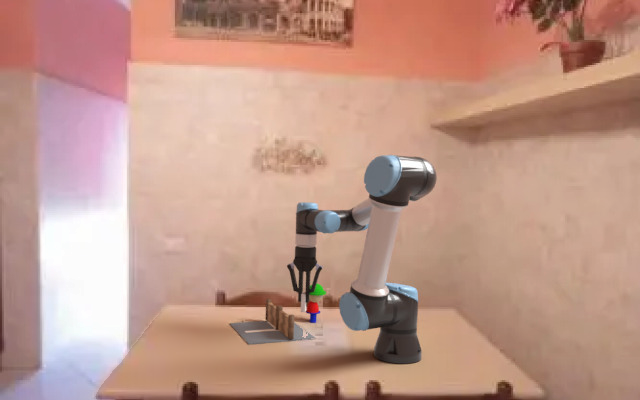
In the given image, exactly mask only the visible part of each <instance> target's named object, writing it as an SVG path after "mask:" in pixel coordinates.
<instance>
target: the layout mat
mask: <svg viewBox="0 0 640 400" xmlns="http://www.w3.org/2000/svg"><path fill="white" fill-rule="evenodd" d="M229 325H230V327H232V328H233V329H234V330H235V332H237V333H238V334H239V336H240V337H241V338H242V339H243V340H244V341H245V342H246V344H247V345H249V346H250V345H261V344H271V343H272V344H273V343H274V344H275V343H282V342H283V343H284V342H296V340H298V341H302V340H301V339H310V340H312V339H311V338H315V339H316V337H315V336H313V335H312V334H311V333H310V332H308V331H307V332H306V334H307V333H308V336H306V338H304V337H302V336H303V329H304V328H303V327H301V326H300V325H298V324H297V323H296V322H294V339H288V337H287V336H285V335H284V334H283V333H282V332H281V331H279V330H276V329H275V328H276V327H275V326H273V325H272V324H271V323H270V322H269V321H267V320H257V321H255V320H254V321H241V322H230V323H229ZM300 327H301V328H300ZM302 328H303V329H302Z"/></svg>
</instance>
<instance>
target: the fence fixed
mask: <svg viewBox="0 0 640 400" xmlns="http://www.w3.org/2000/svg"><path fill="white" fill-rule="evenodd" d="M280 310H282V311H284V309H283V305H275V304H274V303H273V302H272V299H271V298H266V299H265V321H269V322H270V323H271V324H272V325H273V326H275V327H276V328H275V329H276V330H278V327H279V311H280Z"/></svg>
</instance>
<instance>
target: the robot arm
mask: <svg viewBox="0 0 640 400" xmlns="http://www.w3.org/2000/svg"><path fill="white" fill-rule="evenodd" d="M437 180H438V179H437V172H436V169H435V167H434V166H433V164H432V163H431V162H430V161H429V160H427V159H425V158H423V157H420V156H406V155H395V154H394V155H393V154H387V155H378V156H376V157H374V159H371V160H370V162H369V164H368V165H367V167H366V169H365V172H364V176H363V183H364V184H365V185H364V189H365V190H366V192H367V193H368V194H369V196H368V198H367V199H365V200H363V201H362V202H360V203H359V204H357V205H355V206H353V207H352V208H350V209H319V207H318V206H319V205H318V203H316V202H311V201H310V202H309V201H308V202H306V201H305V202H304V201H303V202H302V201H300V202H298V203H297V204H296V212H295V241H294V244H295V246H294V258H293V260H292V261H291V263H288V264H287V265H286V268H287V269H288V271H289V275H290V280H291V285H292V286H291V287H292V290H293V292H296V293H297V295H298V296H297V297H298V298H297V301H298V303H300V312H301V313H306V311H307V304H309V302H310V300H309V295H310V293H313V292H314V291H315V288H316V284H318V280H319V276H320V273H321V271H322V270H323V268H324V266H323V265H320V264H319V263H318V260H317V247H316V246H317V239H318V238H317V237H318V236H317V234H318V232H319V233H323V234H334V233H338V232H339V233H341V232H342V233H343V232H357V233H358V232H361V231H366V235H365V241H364V245H363V250H362V256H361V260H360V265H359V268H358V269H359V270H358V275H357V278H356V279H354V280H352V281H351V284H350V290H349V291H348V292H347V291H346V292H345V293H343V294H342V295H341V296H340V299H339V305H338V307H339V308H338V309H339V314H340V316H341V319H342V321H343V323H344V324H345V325H346V327H347V328H349V329H350V330H352V331H354V332H358V331H363V332H364V331H365V332H366V331H367V330H373V329H374V330H375V329H379V332H378V333H379V334H378V337H377V339H376V342H375V345H374V348H373V355H374V358H376V359H378V360H380V361H381V362H382V361H383V362H387V363H393V364H414V363H417V362H420V361H421V360H422V358H423V357H422V355H423V354H422V353H423V352H422V348H421V344H420V341H419V340H420V339H419V337H418V336H419V335H418V331H417V330H418V312H419V300H420V299H419V295H418V294H419V292H418V290H417V288H415V287H414V286H410V285H407V284H402V283H401V284H400V283H394V282H387V280H388V274H389V270H390V265H391V260H392V256H393V252H394V247H395V242H396V238H397V233H398V228H399V224H400V219H401V215H402V211H403V210H404V209H406V208H407V207H408V206H409V203H410V202H416V201H419V200H420V199H422V198H424V197H426V196H428V195H429V194H430V193H431V192H433V190H434V188H435V186H436V184H437ZM294 268H296V269H297V271H298V281H297V278H296V272H295V269H294ZM314 268H315V273H314V277H313V280H312V284H311V273H312V272H311V271H313V269H314ZM304 273H305V292H303V291H304ZM311 285H312V287H311V289H310V286H311Z"/></svg>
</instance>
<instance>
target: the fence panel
mask: <svg viewBox="0 0 640 400" xmlns="http://www.w3.org/2000/svg"><path fill="white" fill-rule="evenodd" d="M294 323H295V315H294V314H288V313H286V312H285V311H284V310H280V311H279V327H278V330H279V331H281V332H282V333H283V334H284V335H285V336H287V337H288V339H294Z"/></svg>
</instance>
